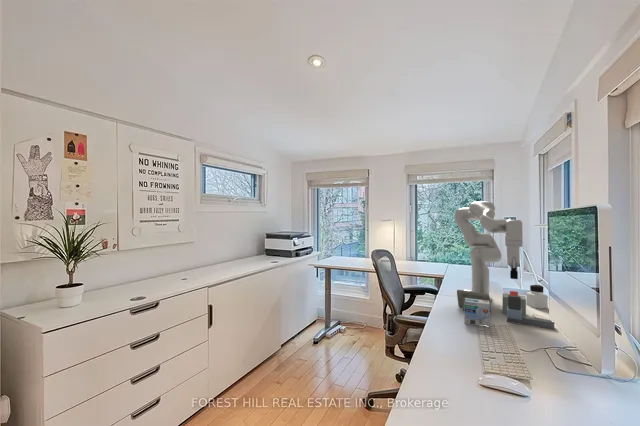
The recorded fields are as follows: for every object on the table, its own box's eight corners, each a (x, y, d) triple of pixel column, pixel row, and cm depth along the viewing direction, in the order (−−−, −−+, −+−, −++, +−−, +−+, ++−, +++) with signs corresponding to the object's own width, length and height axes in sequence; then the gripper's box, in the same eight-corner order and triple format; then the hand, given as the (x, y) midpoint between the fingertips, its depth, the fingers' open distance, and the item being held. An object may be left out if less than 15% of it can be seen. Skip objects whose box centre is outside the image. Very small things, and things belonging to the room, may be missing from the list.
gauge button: (509, 300, 154) (509, 291, 154) (509, 298, 157) (509, 290, 157) (518, 301, 152) (518, 292, 152) (518, 299, 155) (517, 291, 155)
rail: (506, 321, 143) (506, 315, 143) (507, 319, 146) (506, 313, 146) (554, 329, 133) (554, 323, 133) (553, 326, 136) (553, 320, 136)
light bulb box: (464, 323, 140) (464, 300, 140) (464, 319, 146) (464, 297, 146) (490, 327, 135) (490, 304, 135) (489, 323, 141) (489, 300, 141)
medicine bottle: (547, 308, 163) (547, 286, 163) (534, 308, 163) (534, 286, 164) (538, 304, 170) (538, 283, 171) (526, 304, 171) (526, 283, 171)
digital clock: (492, 313, 155) (492, 293, 155) (484, 317, 149) (484, 296, 149) (462, 305, 168) (462, 287, 168) (453, 309, 162) (453, 289, 162)
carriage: (506, 317, 141) (506, 297, 141) (507, 313, 147) (507, 293, 147) (522, 320, 138) (522, 299, 138) (521, 316, 144) (521, 295, 144)
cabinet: (502, 314, 154) (502, 296, 154) (502, 309, 160) (502, 293, 160) (526, 317, 148) (525, 299, 148) (525, 313, 155) (525, 296, 155)
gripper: (505, 242, 163) (505, 275, 163) (505, 244, 150) (505, 280, 150) (522, 242, 159) (522, 277, 159) (523, 245, 146) (523, 282, 146)
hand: (514, 278), depth 154 cm, fingers closed
